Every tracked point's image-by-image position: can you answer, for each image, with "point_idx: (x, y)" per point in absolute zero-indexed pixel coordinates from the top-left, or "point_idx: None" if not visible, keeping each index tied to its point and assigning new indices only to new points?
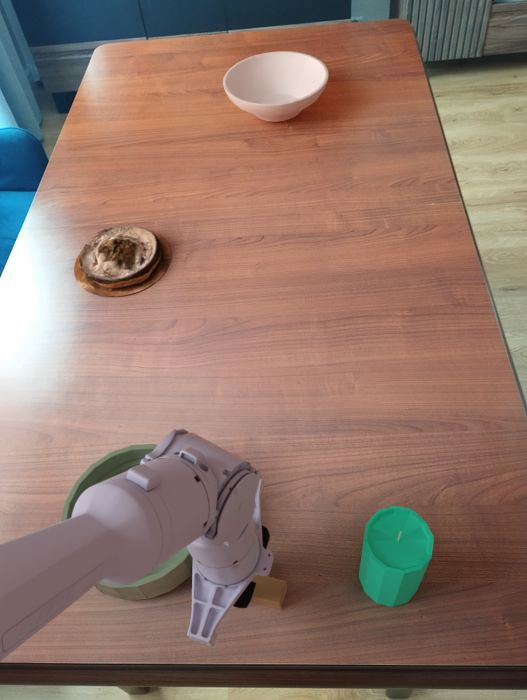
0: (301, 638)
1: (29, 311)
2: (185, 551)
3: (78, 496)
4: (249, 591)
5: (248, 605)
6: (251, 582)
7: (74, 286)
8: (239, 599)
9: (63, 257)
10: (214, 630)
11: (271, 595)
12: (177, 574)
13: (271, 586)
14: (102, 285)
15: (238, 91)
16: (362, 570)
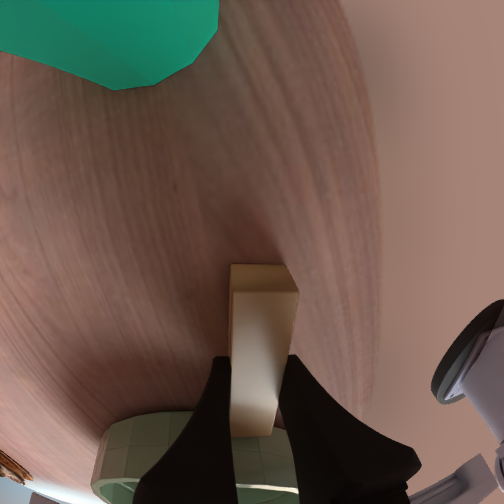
0: (340, 203)
1: (74, 499)
2: (246, 487)
3: None
4: (382, 480)
5: (412, 453)
6: (350, 486)
7: (37, 480)
8: (400, 480)
9: (28, 481)
10: (485, 495)
11: (281, 317)
12: (276, 460)
13: (256, 322)
14: (20, 473)
15: None
16: (140, 41)
